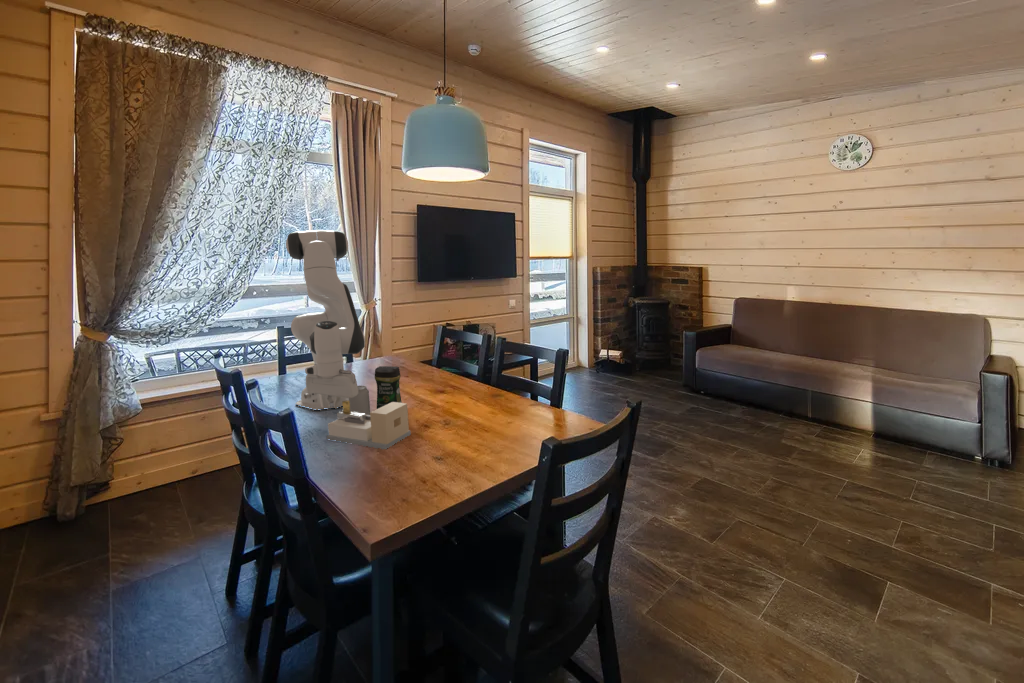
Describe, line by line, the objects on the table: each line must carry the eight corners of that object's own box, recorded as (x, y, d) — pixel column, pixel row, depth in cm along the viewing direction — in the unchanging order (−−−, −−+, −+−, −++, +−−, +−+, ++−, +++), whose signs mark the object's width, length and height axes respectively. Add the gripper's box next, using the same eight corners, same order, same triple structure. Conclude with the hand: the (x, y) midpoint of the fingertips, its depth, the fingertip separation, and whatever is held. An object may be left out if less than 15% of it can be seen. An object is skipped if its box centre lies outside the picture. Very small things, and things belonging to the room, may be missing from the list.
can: (349, 415, 190) (347, 385, 188) (369, 413, 193) (367, 383, 191) (350, 421, 184) (348, 390, 181) (371, 418, 186) (369, 388, 184)
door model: (327, 440, 166) (324, 407, 163) (355, 426, 178) (352, 396, 176) (385, 449, 156) (383, 415, 154) (410, 434, 169) (408, 402, 167)
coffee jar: (374, 415, 191) (370, 368, 187) (381, 408, 198) (378, 364, 195) (398, 415, 189) (395, 369, 186) (404, 409, 197) (402, 364, 194)
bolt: (337, 418, 169) (335, 401, 168) (343, 415, 172) (342, 399, 171) (360, 421, 166) (359, 404, 165) (366, 419, 168) (365, 402, 167)
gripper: (360, 368, 168) (363, 407, 170) (314, 364, 175) (318, 401, 178) (348, 373, 162) (351, 413, 164) (301, 368, 170) (304, 407, 172)
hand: (333, 407), depth 171 cm, fingers closed
